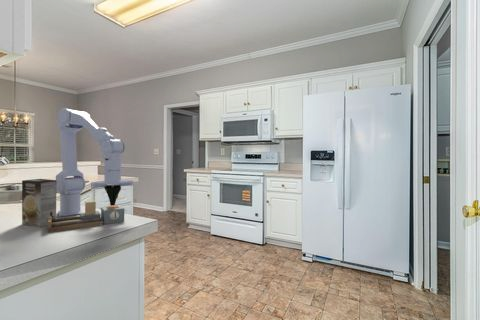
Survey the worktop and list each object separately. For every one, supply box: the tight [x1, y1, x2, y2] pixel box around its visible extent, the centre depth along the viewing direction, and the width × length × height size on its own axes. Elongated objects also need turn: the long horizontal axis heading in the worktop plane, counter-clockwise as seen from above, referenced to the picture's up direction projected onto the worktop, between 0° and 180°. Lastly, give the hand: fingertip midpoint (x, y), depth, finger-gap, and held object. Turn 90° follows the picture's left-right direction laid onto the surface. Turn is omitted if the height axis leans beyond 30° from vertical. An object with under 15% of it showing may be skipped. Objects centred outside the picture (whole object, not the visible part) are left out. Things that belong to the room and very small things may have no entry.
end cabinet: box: [100, 204, 125, 225], centre depth 97 cm, size 8×7×5 cm
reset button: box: [108, 205, 117, 209], centre depth 97 cm, size 3×3×4 cm
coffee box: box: [21, 178, 57, 228], centre depth 91 cm, size 9×6×16 cm
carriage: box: [79, 200, 101, 220], centre depth 92 cm, size 5×6×6 cm
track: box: [47, 215, 104, 233], centre depth 90 cm, size 9×16×4 cm, turn 127°
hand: (112, 204), depth 97 cm, fingers closed
